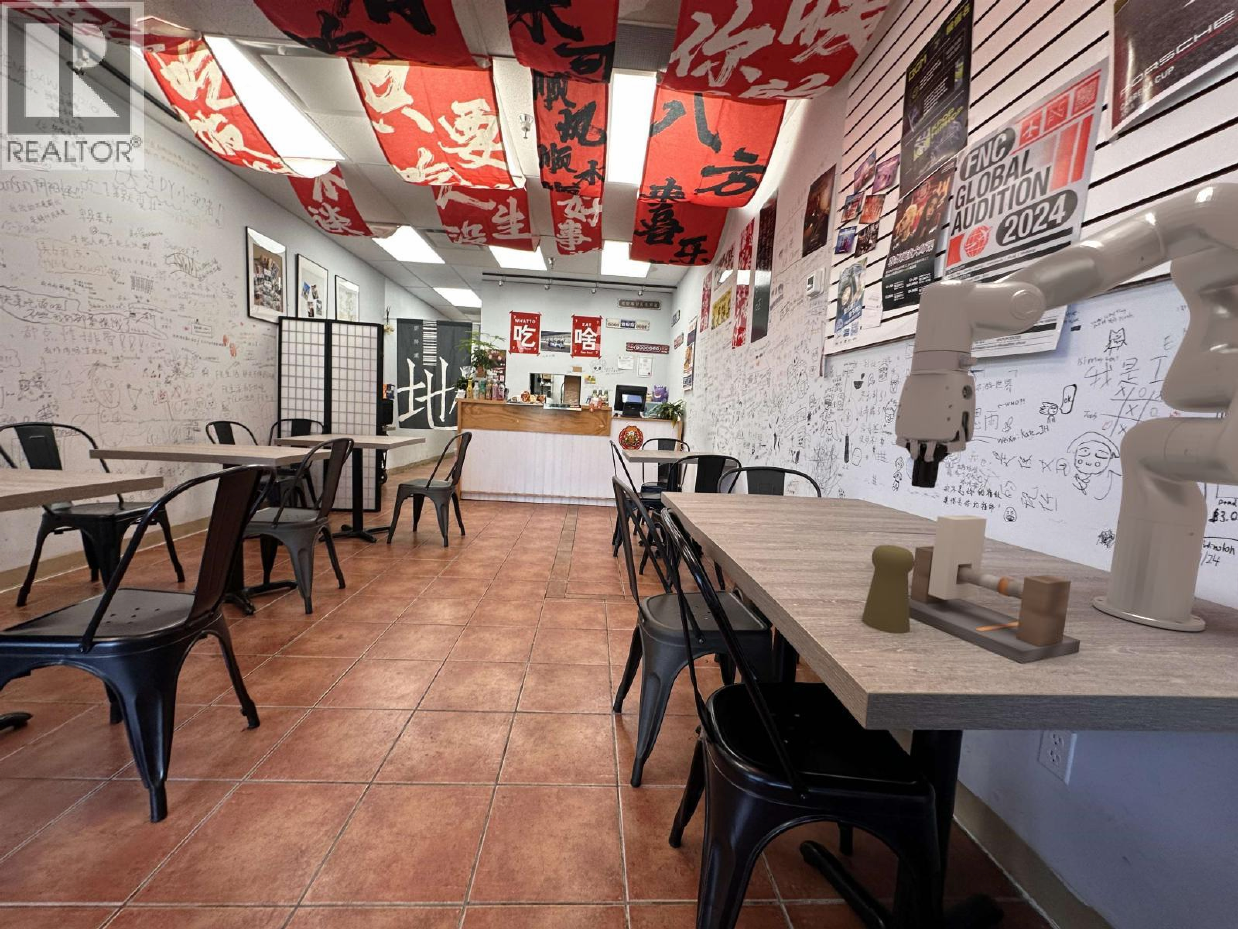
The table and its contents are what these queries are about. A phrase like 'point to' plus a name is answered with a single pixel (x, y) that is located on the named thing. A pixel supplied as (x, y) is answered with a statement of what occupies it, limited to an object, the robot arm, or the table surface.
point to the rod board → (991, 629)
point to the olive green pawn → (889, 590)
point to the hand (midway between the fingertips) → (923, 486)
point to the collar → (956, 555)
